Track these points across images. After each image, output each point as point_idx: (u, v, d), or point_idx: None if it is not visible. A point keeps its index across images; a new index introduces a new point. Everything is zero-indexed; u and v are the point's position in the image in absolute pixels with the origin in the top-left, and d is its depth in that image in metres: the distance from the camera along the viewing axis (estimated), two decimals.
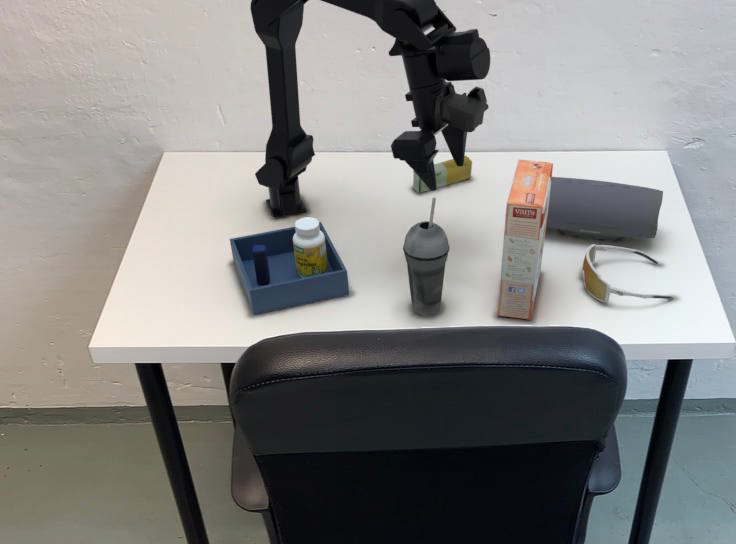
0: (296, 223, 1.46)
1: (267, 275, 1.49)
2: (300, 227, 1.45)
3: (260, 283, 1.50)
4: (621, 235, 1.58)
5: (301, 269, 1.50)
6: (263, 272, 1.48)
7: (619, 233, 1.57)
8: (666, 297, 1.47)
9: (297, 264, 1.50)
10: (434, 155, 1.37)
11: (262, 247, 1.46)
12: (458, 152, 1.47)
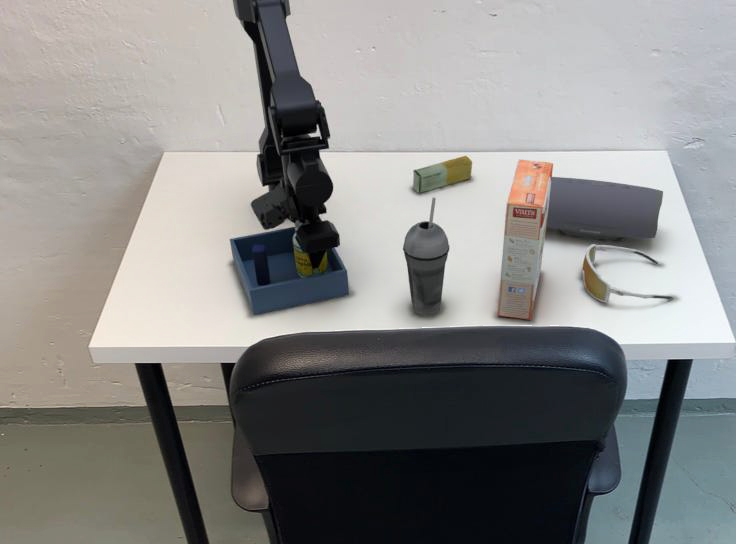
0: (296, 223, 1.46)
1: (267, 275, 1.49)
2: None
3: (260, 283, 1.50)
4: (621, 235, 1.58)
5: (301, 269, 1.50)
6: (263, 272, 1.48)
7: (619, 233, 1.57)
8: (666, 297, 1.47)
9: (297, 264, 1.50)
10: None
11: (262, 247, 1.46)
12: None
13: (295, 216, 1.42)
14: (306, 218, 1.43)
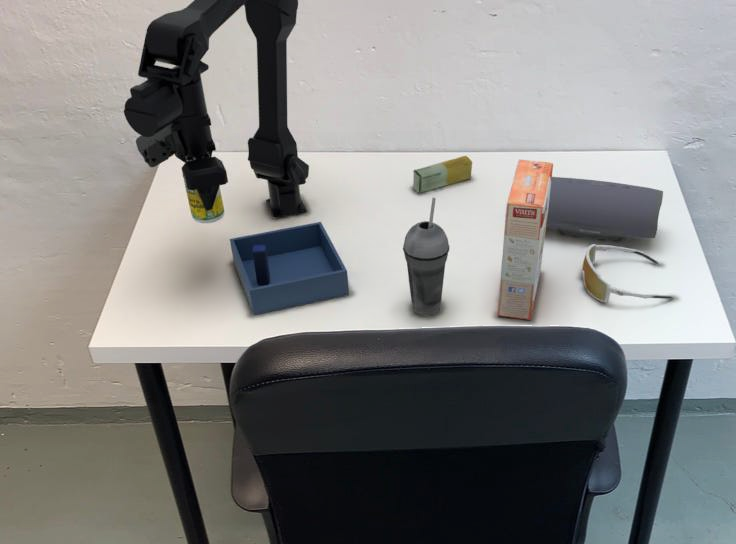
0: None
1: (267, 275, 1.49)
2: None
3: (260, 283, 1.50)
4: (621, 235, 1.58)
5: (195, 212, 1.44)
6: (263, 272, 1.48)
7: (619, 233, 1.57)
8: (666, 297, 1.47)
9: (190, 206, 1.45)
10: None
11: (262, 247, 1.46)
12: None
13: (181, 153, 1.36)
14: (194, 155, 1.37)
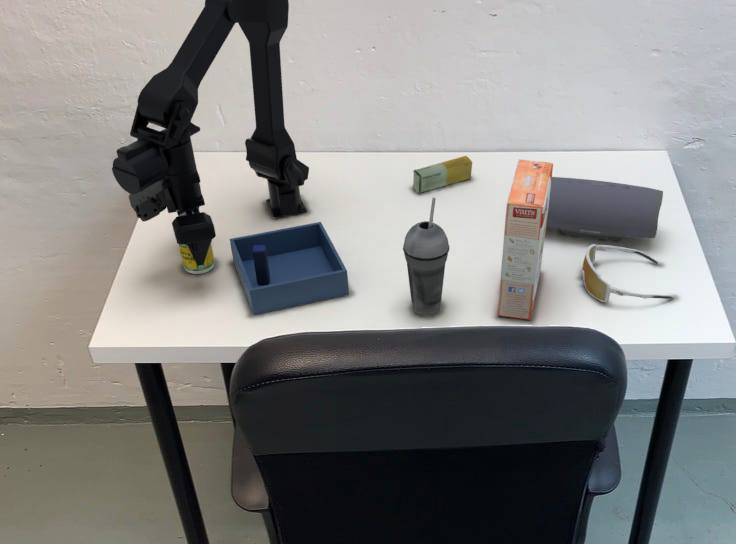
0: None
1: (267, 275, 1.49)
2: None
3: (260, 283, 1.50)
4: (621, 235, 1.58)
5: (186, 263, 1.52)
6: (263, 272, 1.48)
7: (619, 233, 1.57)
8: (666, 297, 1.47)
9: (182, 258, 1.52)
10: None
11: (262, 247, 1.46)
12: None
13: (172, 208, 1.43)
14: (184, 210, 1.44)
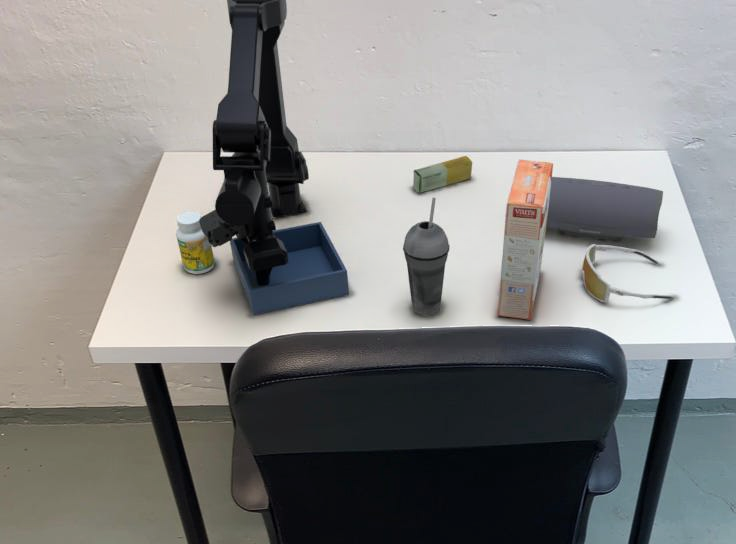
0: (178, 217, 1.48)
1: None
2: (181, 221, 1.47)
3: (260, 283, 1.50)
4: (621, 235, 1.58)
5: (186, 263, 1.52)
6: None
7: (619, 233, 1.57)
8: (666, 297, 1.47)
9: (182, 258, 1.52)
10: None
11: None
12: None
13: (243, 233, 1.40)
14: (255, 235, 1.41)
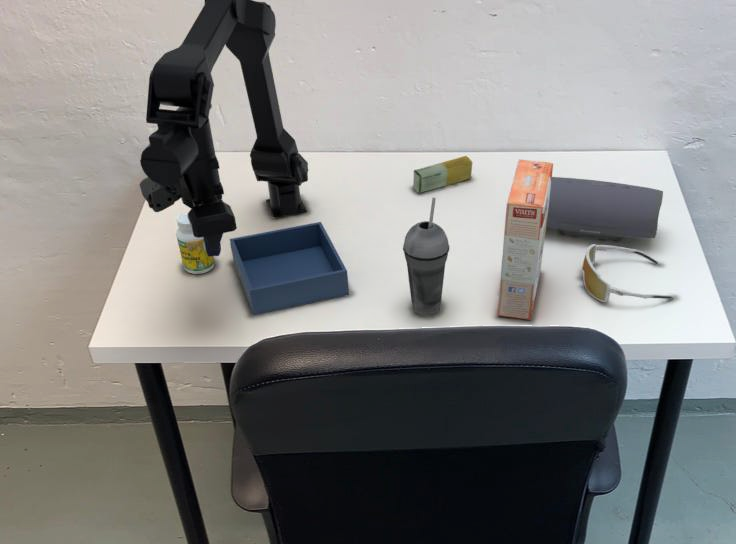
0: (178, 217, 1.48)
1: None
2: (181, 221, 1.47)
3: (210, 254, 1.38)
4: (621, 235, 1.58)
5: (186, 263, 1.52)
6: None
7: (619, 233, 1.57)
8: (666, 297, 1.47)
9: (182, 258, 1.52)
10: None
11: None
12: None
13: (188, 197, 1.29)
14: (201, 200, 1.30)
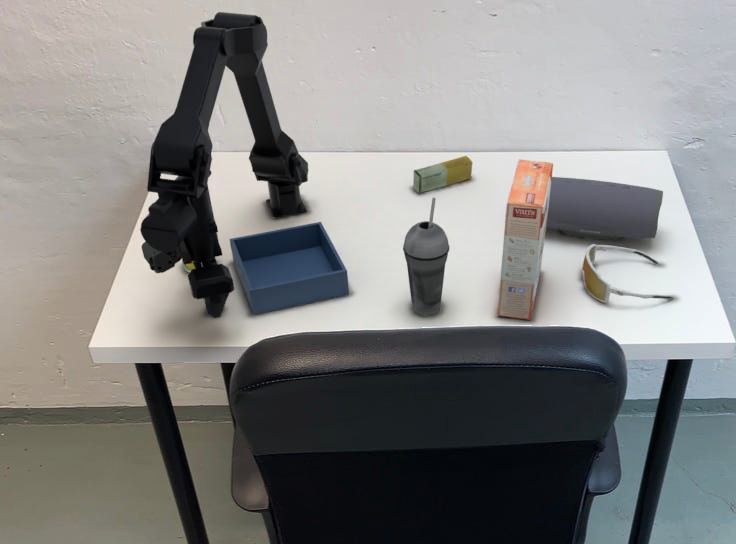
0: None
1: None
2: None
3: (210, 313, 1.45)
4: (621, 235, 1.58)
5: None
6: None
7: (619, 233, 1.57)
8: (666, 297, 1.47)
9: None
10: None
11: None
12: None
13: (188, 259, 1.34)
14: (200, 261, 1.35)
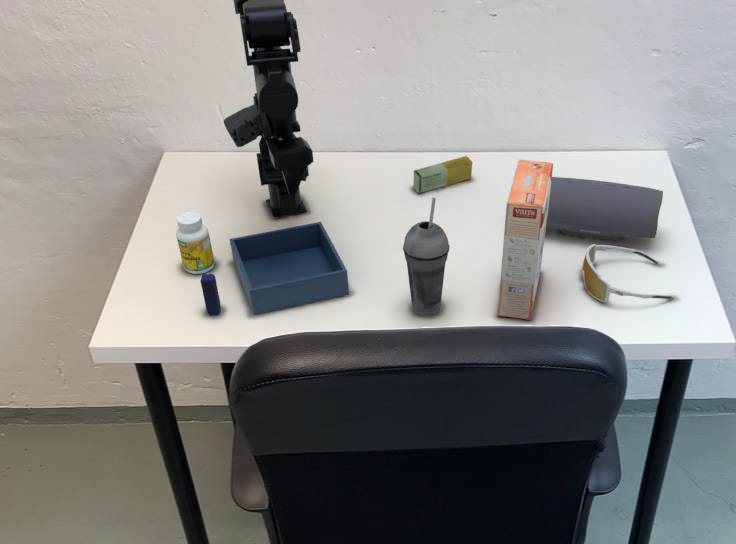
0: (178, 217, 1.48)
1: (217, 305, 1.44)
2: (181, 221, 1.47)
3: (210, 313, 1.45)
4: (621, 235, 1.58)
5: (186, 263, 1.52)
6: (212, 302, 1.43)
7: (619, 233, 1.57)
8: (666, 297, 1.47)
9: (182, 258, 1.52)
10: None
11: (211, 276, 1.41)
12: None
13: (268, 133, 1.40)
14: (279, 136, 1.41)
